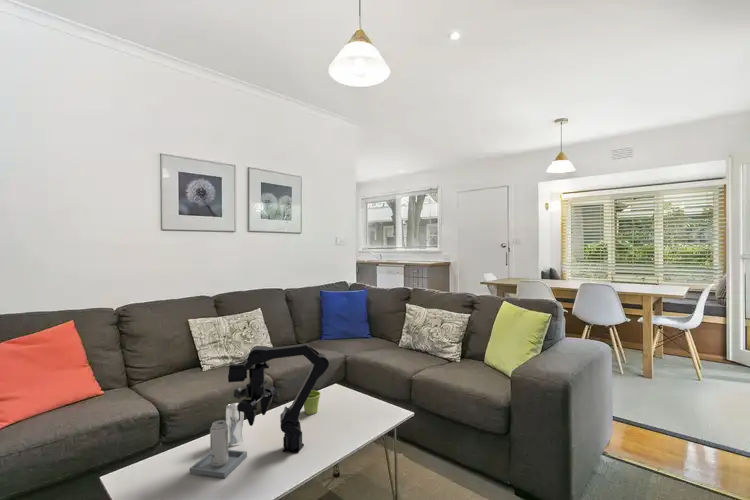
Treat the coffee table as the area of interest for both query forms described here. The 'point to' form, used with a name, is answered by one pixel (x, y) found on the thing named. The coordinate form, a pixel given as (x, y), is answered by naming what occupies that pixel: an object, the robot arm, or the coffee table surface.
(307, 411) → the plant pot
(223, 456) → the energy drink can
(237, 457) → the blue-gray tray
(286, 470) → the coffee table surface
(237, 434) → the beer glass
